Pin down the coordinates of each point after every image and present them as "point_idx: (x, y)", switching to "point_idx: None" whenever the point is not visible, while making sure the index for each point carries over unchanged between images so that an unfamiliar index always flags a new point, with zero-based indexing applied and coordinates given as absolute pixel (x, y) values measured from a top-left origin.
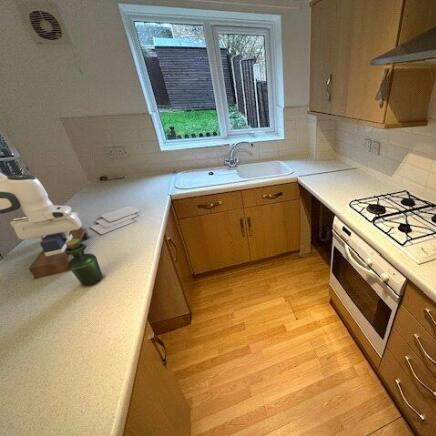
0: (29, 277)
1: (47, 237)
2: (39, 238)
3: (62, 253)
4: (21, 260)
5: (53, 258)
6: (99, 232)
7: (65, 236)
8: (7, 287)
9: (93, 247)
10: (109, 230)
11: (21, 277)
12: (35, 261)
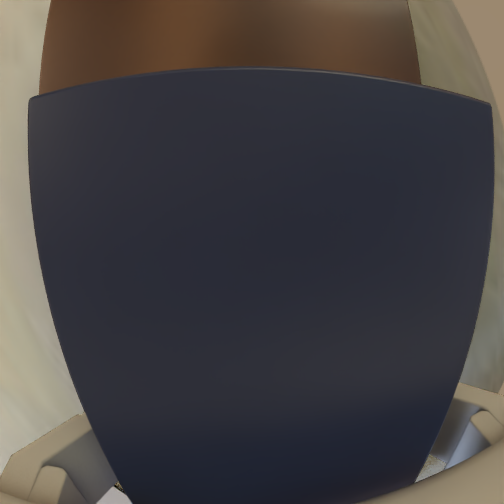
0: None
1: (392, 430)
2: (495, 411)
3: None
4: (484, 322)
5: (217, 13)
6: (122, 495)
7: (88, 428)
8: (455, 15)
9: (50, 330)
10: None
11: (442, 81)
12: (403, 52)
